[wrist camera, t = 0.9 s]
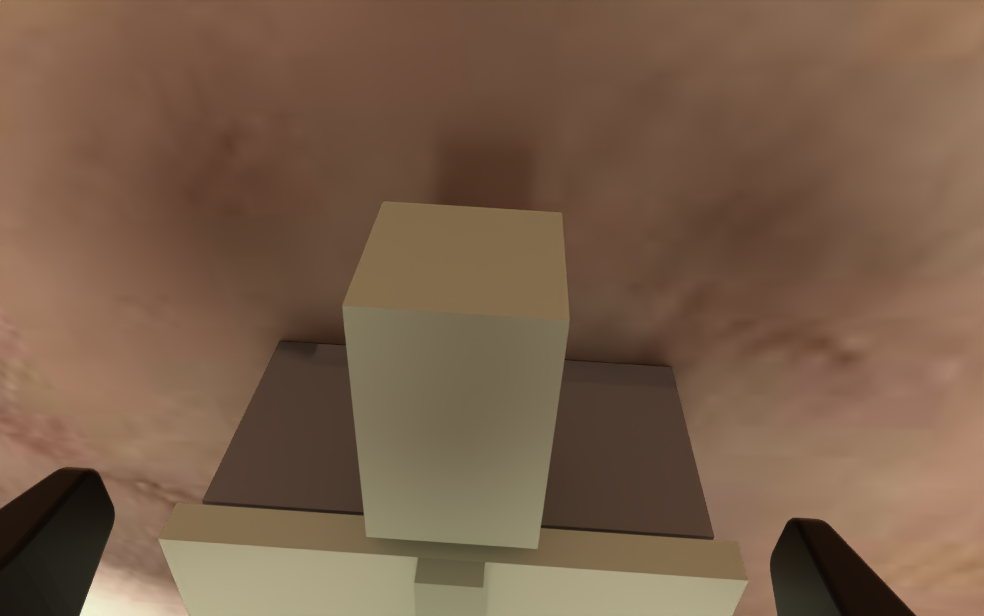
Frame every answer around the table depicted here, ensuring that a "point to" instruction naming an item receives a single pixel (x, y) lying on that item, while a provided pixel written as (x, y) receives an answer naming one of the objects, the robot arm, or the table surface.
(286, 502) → the tub
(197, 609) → the lid
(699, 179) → the table surface
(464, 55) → the table surface
